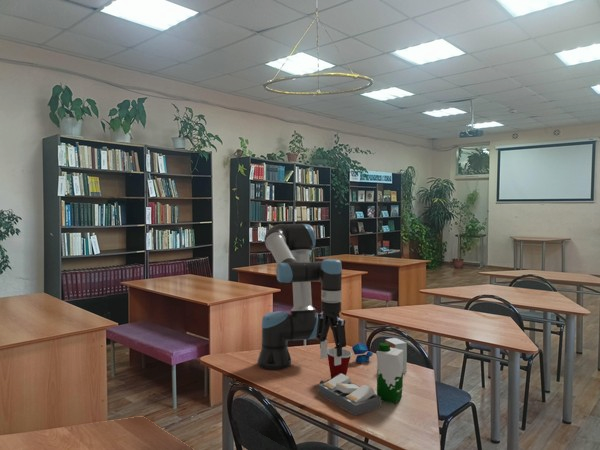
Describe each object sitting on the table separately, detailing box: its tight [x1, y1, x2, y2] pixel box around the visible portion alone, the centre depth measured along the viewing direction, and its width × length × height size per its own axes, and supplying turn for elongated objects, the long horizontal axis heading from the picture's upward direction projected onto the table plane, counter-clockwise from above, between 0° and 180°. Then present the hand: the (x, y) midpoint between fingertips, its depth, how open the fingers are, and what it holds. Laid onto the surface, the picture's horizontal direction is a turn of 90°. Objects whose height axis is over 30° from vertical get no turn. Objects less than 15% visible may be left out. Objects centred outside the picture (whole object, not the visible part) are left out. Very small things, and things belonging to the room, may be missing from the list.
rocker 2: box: [335, 383, 361, 393], centre depth 154 cm, size 5×9×2 cm, turn 124°
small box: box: [384, 337, 408, 373], centre depth 184 cm, size 8×6×13 cm
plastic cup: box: [327, 347, 353, 380], centre depth 173 cm, size 11×11×12 cm
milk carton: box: [375, 342, 404, 405], centre depth 156 cm, size 9×9×20 cm
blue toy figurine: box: [351, 342, 374, 364], centre depth 195 cm, size 7×9×12 cm
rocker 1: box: [324, 373, 352, 390], centre depth 159 cm, size 5×9×2 cm, turn 124°
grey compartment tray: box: [318, 380, 382, 417], centre depth 157 cm, size 27×12×4 cm, turn 34°
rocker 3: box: [346, 384, 375, 404], centre depth 149 cm, size 5×9×2 cm, turn 124°
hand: (330, 361), depth 157 cm, fingers open, 8 cm apart
